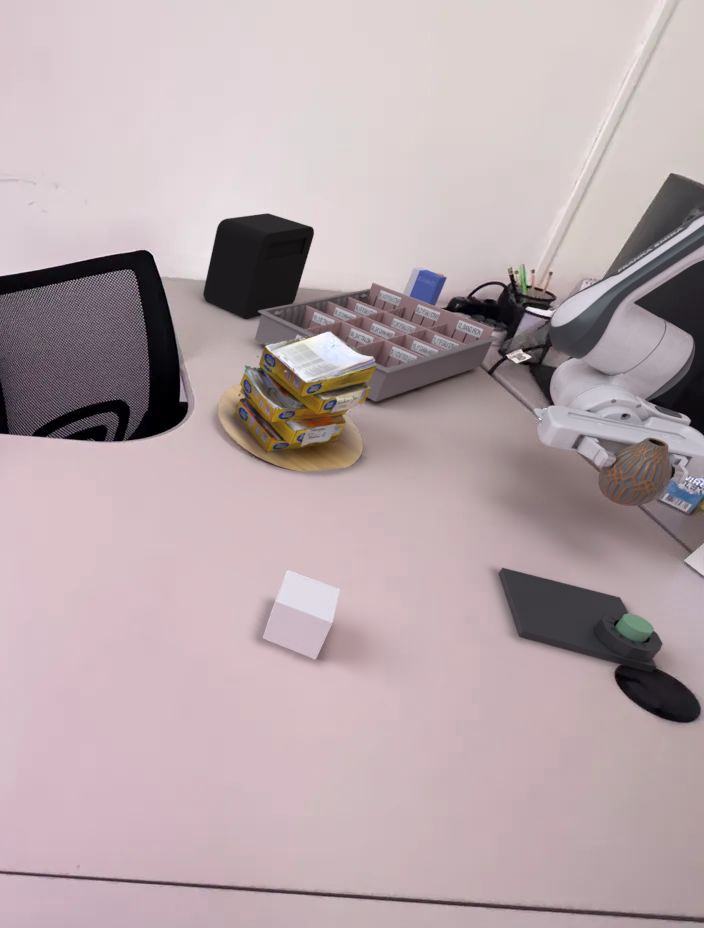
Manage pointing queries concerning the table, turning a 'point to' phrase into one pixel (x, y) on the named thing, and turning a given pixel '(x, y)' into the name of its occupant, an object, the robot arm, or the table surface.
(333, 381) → the stacked yellow boxes
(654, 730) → the table surface
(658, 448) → the vase
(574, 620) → the scale
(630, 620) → the button
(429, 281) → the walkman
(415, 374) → the organizer tray
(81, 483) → the table surface
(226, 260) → the air purifier
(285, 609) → the white cube
